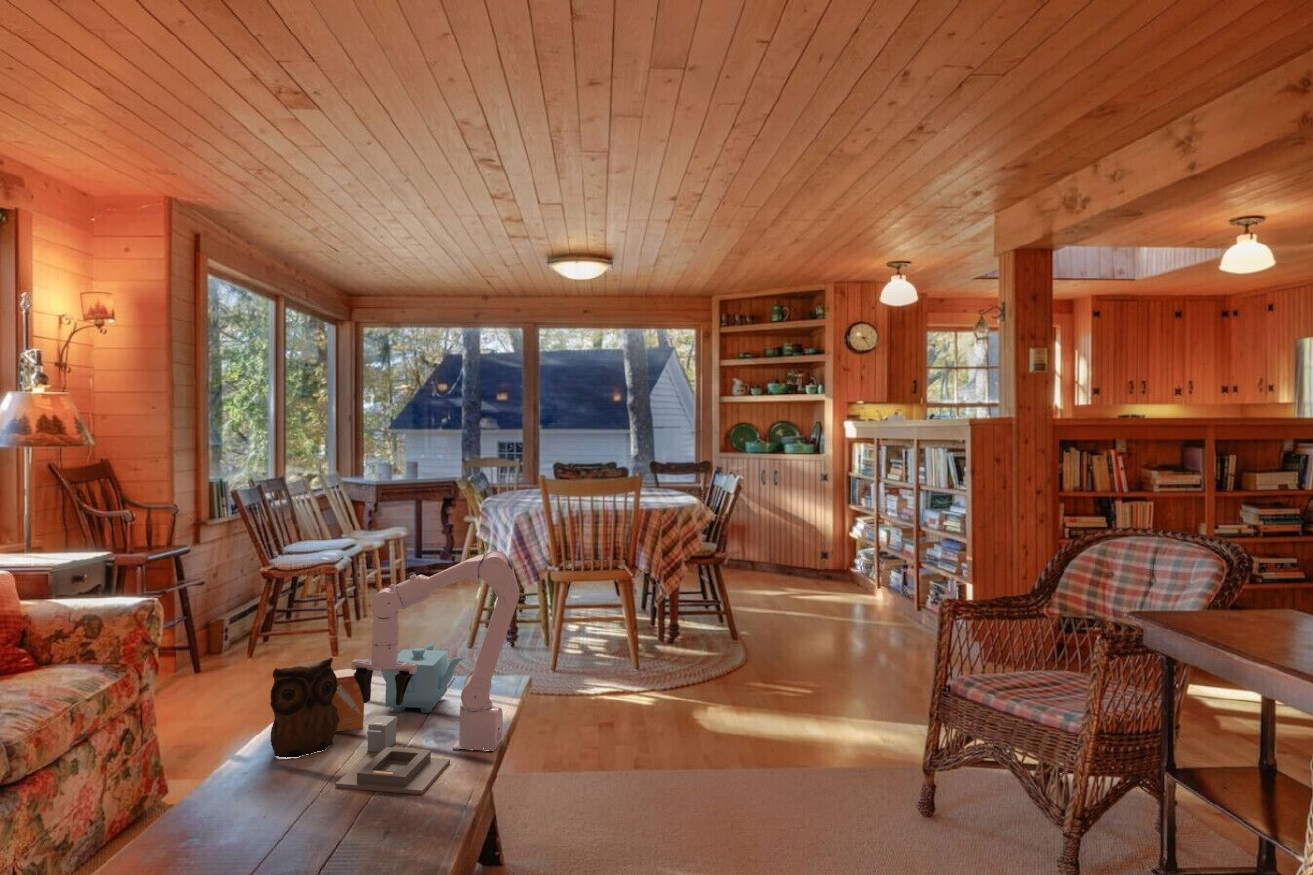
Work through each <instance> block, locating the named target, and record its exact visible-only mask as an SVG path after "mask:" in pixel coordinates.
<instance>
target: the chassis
mask: <svg viewBox="0 0 1313 875" xmlns="http://www.w3.org/2000/svg"><path fill="white" fill-rule="evenodd" d="M431 756H432V750H431V749H418V748H404V747H392V746H391V747H386V748H385V749H384V750H382V751H381V752H378V753H375V752H370V753H368V755H366V756H365V757H364V758H363V759H361V761H359V762H358V763H357V764H356V765H355V766H354V767H353V768H351V769H350V770H349V771H348V772H347V773H345V774H344V775H343V776H342V777H341V778H340V779H339V780H338V781H337V782H336V783H335V788H336V787H338V789H348V788H350V789H349V790H361V791H363V790H364V791H375V792H376V791H377V792H387V793H398V794H399V793H400V794H411V795H423V794H424V793H425V792H426V791H427V790H428V789H427V788H430V786H431V785H432V784H433V783H434V782H433V781H435V780H437V779H438V777H439V776H440V775H441V774H442V773H443V771H444V770H445V769H446V768H447V767H448V766H449V765H450V764H451V758H439V757H431ZM448 764H449V765H448ZM447 765H448V766H447ZM446 766H447V767H446ZM445 767H446V768H445ZM444 768H445V769H444ZM441 772H442V773H441ZM426 789H427V790H426ZM425 790H426V791H425Z"/></svg>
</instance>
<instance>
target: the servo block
mask: <svg viewBox="0 0 1313 875" xmlns="http://www.w3.org/2000/svg"><path fill="white" fill-rule="evenodd" d="M397 721H398V717H397V715H396V716H395V715H394V716H393V715H383V714H382V715H378V716H377V717H375V719H373V720H372V721H371V722H369V723H368V725H367V731H366V733H367V752H373V753H375V752H378V753H380V752H381V751H382V750H384V749H385V748H386V747H392V746H394V745H395V744H396V742H397Z"/></svg>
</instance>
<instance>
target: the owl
mask: <svg viewBox="0 0 1313 875" xmlns="http://www.w3.org/2000/svg"><path fill="white" fill-rule="evenodd" d="M332 663H333V657H328V658H324V659H318V660H312V661H311V660H310V661H306V662H303V663H302V662H300V663H296V664H294V665H289V666H286V667H282V668H277V667H275V668H274V670H273V671H272V678H273V684H272V688H271V690H270V703H269V704H270V707H271V709H272V712H273V716H274V721H273V723H272V726H271V730H270V744H271V746H272V750H273V754H274V755H275V756H279V757H286V758H287V757H299V756H302V755H306V754H309V756H311V755H310V754H311V753H314V752H317V751H322V750H324V751H326V750H327V749H328V748H329V747H331V746H332V745H334V737H335V735H336V733H337V732H336V729H337V725H338V723H339V721H340V719H339V715H338V714H337V708H336V707H335V705H334V704H333V702H332V698H333V696H334V694H335V693H336V691H337V680H336V675H335V673H334V671H335V670H333V668H332ZM328 746H329V747H328ZM327 747H328V748H327ZM326 748H327V749H326ZM325 749H326V750H325ZM322 752H323V751H322ZM314 754H315V753H314ZM274 755H273V756H274Z"/></svg>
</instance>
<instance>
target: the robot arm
mask: <svg viewBox="0 0 1313 875" xmlns="http://www.w3.org/2000/svg"><path fill="white" fill-rule="evenodd" d="M480 578H481V579H482V581H483V582H485V584H486V585H488V586H489V587H491V588H492V590H493V593H494V594H495V595H496V597H497V601H496V604H495V607H494V609H493V612H492V615H491V618H490V621H489V623H488V628H487V630H486V632H485V634H484V639H483V640H482V641H483V642H482V644H481V646H480V650H479V653H478V654H477V655H478V656H477V658H476V661H475V664H474V666H473V669H472V671H471V672H470V673H469V674H468V675H467V676H466V678H465V680H464V682H463V689H462V691H461V695H460V699H461V700H460V701H461V702H460V703H459V729H458V730H459V732H458V733H459V734H458V740H457V742H455V744H454V745H453V746H452V749H453V750H459V749H473V750H489V751H493V752H495V750H496V749H497V748H498V747H499V746H500V744H501V743H502V741H503V739H504V738H503V718H504V717H503V708H502V707H500V706H499V707H498V706H495V705H493V702H492V701H493V700H491V699H490V697H491V696H490V692H491V690H492V678H493V674H494V671H495V668H496V665H497V663H498V660H499V657H500V653H501V652H502V648H503V645H504V643H505V640H506V637H507V634H508V631H509V628H510V625H511V624H512V619H513V617H514V614H515V610H516V608H517V606H518V602H519V600H520V589H519V584H518V580H517V577H516V575H515V569H514V565H513V563H512V562H511V560H510V559H509V558H508V556H507V555H506V553H503V552H502V551H501V550H500V551H499V550H492V551H489V552H488V553H486V554H483V553H482V554H479V555H476V556H473V557H469V558H468V559H465V560H464V561H461V562H459V563H457V564H455V565H453V566H451V567H448V568H446V569H444V570H442V571H439V572H437V573H436V574H435V573H434V574H433V575H431V576H426V575H424V574H419V575H417V574H415V573H414V574H412V575H410V576H409V579H407V580H404V581H402V582H399V583H398V584H395V583H392V584H389V587H387V588H385V587H384V588H383V589H380V590H379V591H378V592H377V593H376V594H375V596H374V597H373V598H372V600H371V603H370V609H371V612H372V613H373V614H372V624H371V628H372V629H371V653H370V654H371V655H370V658H367V659H366V658H365V659H363V658H362V659H359V658H355V659H353V660H352V661H351V668H350V669H351V670H356V672H355V673H354V678H355V679H356V681H357V683H358V685H359V687H360V690H361V693H362V697H363V703H364V704H367V703H368V702H370V701H371V697H372V694H371V693H372V680H373V679H372V678H373V674H374V671H377V672H378V671H379V672H382V671H391V672H399V674H397V675H396V676H395V682H396V705H400V704H402V703H403V698H404V694H405V691H406V688H407V686H408V683H409V681H410V679H411V677H412V676H413V674H414V673H415V672H417V663H411V662H405V661H400V660H398V654H399V626H400V625H399V624H400V622H399V610H400V609H401V610H405V609H407V608H410V607H411V606H414V605H416V604H419V603H421V602H423V601H426V600H428V599H430V598H431V597H432V595H433V592H434V591H437V590H438V589H441V588H443V587H446V586H448V585H452V584H454V583H457V582H459V581H461V580H465V579H468V580H469V579H470V580H474V581H479V580H480ZM483 748H484V749H483ZM473 750H472V751H473Z"/></svg>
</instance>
